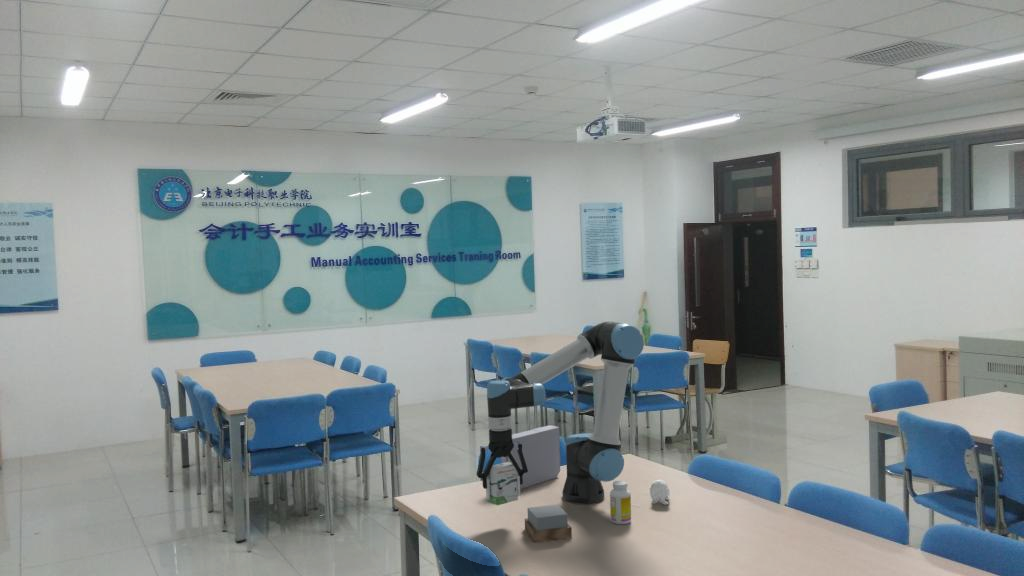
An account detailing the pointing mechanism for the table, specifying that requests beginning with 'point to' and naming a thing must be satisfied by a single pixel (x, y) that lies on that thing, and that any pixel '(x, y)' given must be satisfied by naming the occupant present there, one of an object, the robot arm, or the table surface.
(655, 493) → the white octopus figurine
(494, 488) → the ink box
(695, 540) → the table surface
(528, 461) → the game console
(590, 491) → the robot arm
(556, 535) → the walnut base block
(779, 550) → the table surface
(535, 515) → the slate-grey top block
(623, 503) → the supplement bottle
